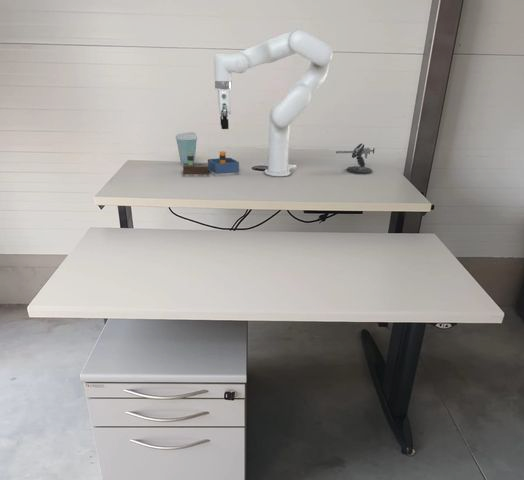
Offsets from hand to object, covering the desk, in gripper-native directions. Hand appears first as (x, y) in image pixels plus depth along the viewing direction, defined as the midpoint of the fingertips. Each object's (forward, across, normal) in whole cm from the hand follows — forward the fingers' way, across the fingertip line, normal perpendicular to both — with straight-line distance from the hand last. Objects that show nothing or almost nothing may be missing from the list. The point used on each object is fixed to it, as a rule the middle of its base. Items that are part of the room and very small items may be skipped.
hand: (224, 127), depth 231 cm
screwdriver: (+20, 0, +2) cm, 20 cm away
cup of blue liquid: (+20, +15, +19) cm, 31 cm away
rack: (+20, -4, +14) cm, 25 cm away
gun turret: (+22, +6, -65) cm, 69 cm away
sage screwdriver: (+19, -4, +17) cm, 26 cm away
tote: (+20, 0, +1) cm, 20 cm away
